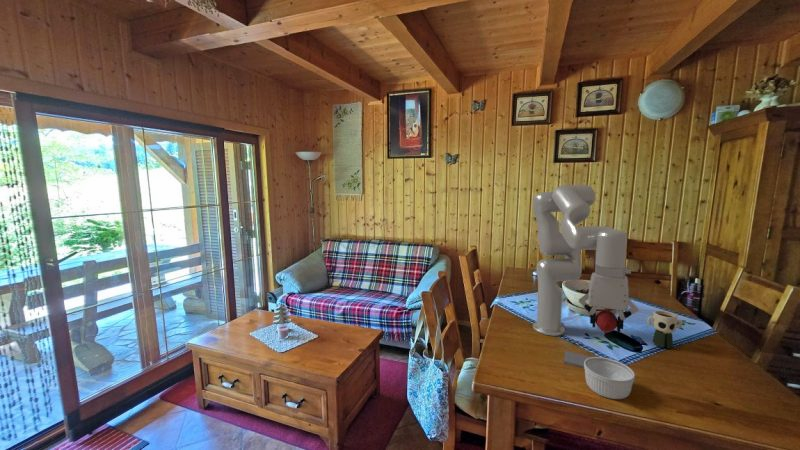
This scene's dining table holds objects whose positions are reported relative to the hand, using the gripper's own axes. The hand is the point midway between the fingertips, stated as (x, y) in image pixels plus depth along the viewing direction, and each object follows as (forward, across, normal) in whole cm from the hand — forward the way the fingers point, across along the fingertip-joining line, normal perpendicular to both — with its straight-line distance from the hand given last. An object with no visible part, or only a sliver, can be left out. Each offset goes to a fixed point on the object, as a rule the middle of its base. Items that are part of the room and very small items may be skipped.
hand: (605, 327), depth 99 cm
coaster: (+20, +8, -13) cm, 25 cm away
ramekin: (+20, -1, 0) cm, 20 cm away
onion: (+2, 0, 0) cm, 2 cm away
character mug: (+20, -20, -41) cm, 50 cm away
